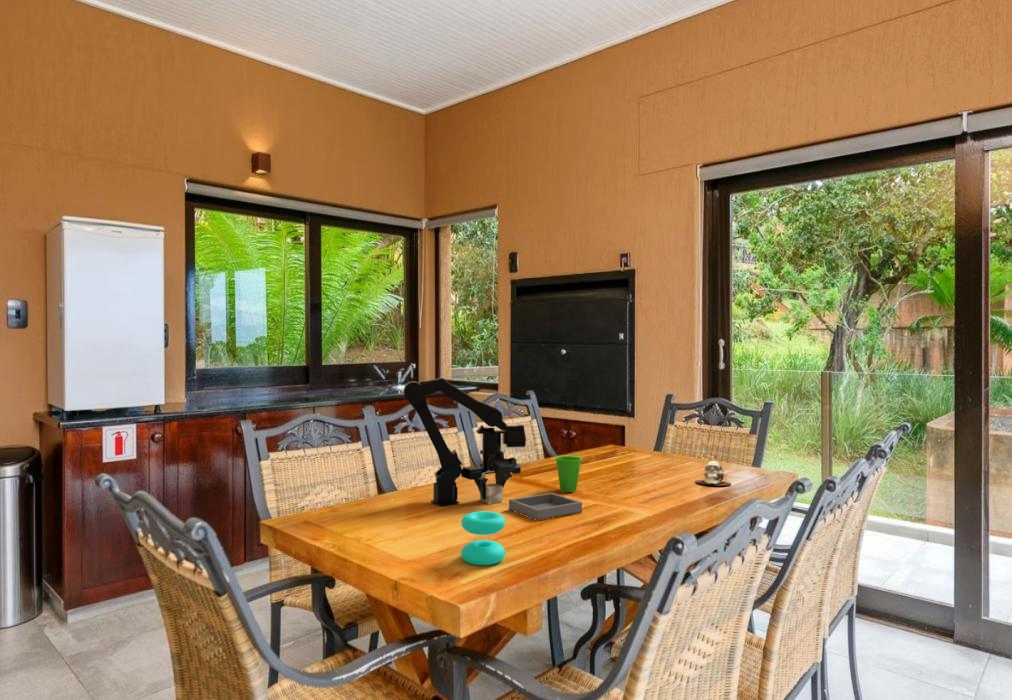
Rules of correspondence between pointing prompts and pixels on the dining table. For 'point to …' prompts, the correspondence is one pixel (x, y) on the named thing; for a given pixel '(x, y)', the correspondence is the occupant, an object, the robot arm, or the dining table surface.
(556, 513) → the tray
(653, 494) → the dining table surface
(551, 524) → the dining table surface
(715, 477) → the skull
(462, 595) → the dining table surface
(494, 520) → the donuts
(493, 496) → the block
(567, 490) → the cup
